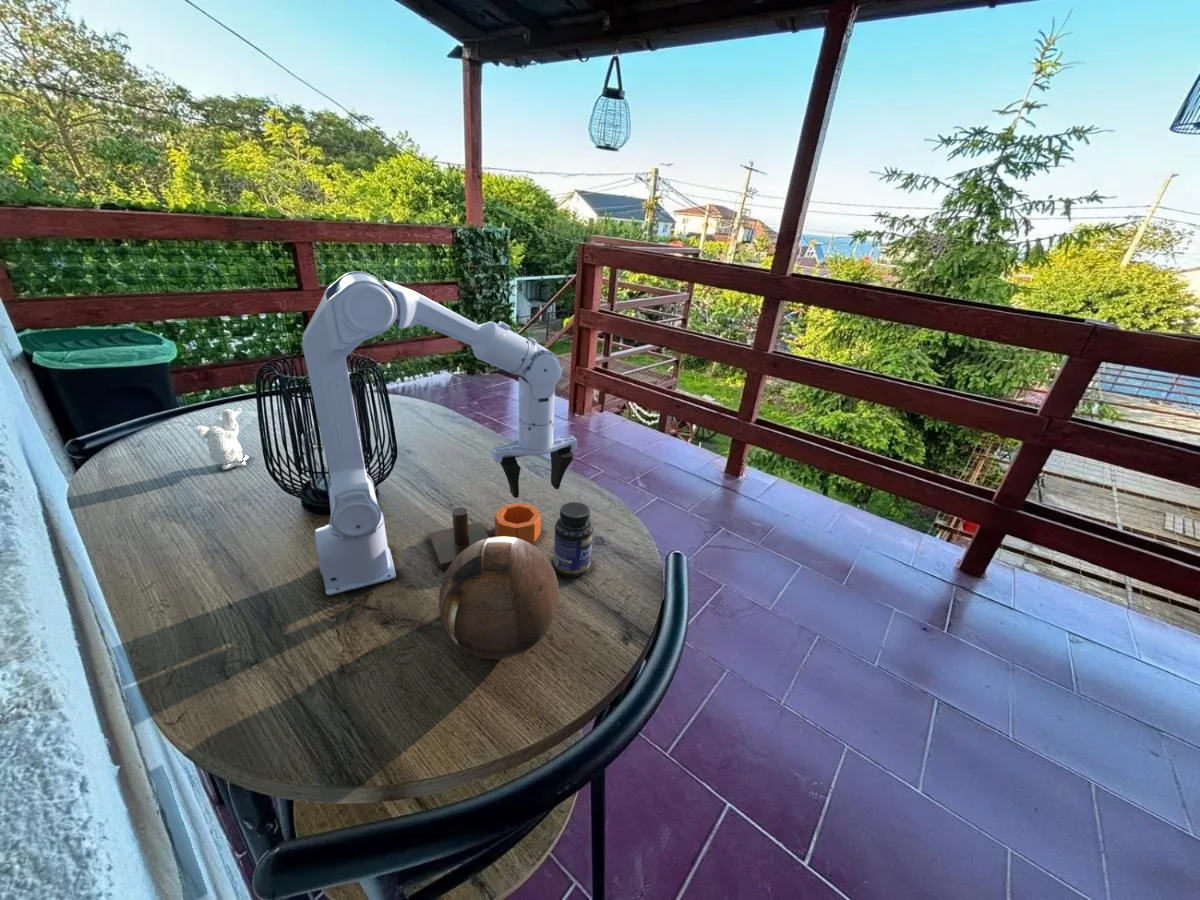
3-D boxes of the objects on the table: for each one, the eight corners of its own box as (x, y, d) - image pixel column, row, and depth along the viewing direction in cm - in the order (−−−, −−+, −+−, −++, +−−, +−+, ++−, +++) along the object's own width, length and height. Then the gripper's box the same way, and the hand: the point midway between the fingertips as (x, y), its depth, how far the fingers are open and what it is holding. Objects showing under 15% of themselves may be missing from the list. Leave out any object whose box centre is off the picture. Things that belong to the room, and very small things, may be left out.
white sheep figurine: (248, 453, 105) (234, 402, 100) (263, 463, 102) (249, 410, 97) (202, 466, 99) (185, 412, 94) (216, 477, 96) (199, 422, 91)
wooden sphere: (540, 589, 74) (542, 507, 67) (571, 667, 61) (578, 575, 55) (438, 611, 68) (429, 524, 62) (450, 702, 56) (441, 604, 49)
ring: (504, 550, 82) (504, 531, 80) (490, 526, 87) (490, 508, 86) (545, 540, 85) (546, 521, 83) (530, 517, 91) (530, 499, 89)
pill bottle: (585, 581, 76) (589, 523, 71) (548, 574, 77) (550, 516, 72) (593, 557, 82) (598, 502, 77) (559, 551, 83) (561, 496, 78)
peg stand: (441, 569, 76) (437, 532, 73) (429, 538, 83) (425, 503, 80) (496, 555, 80) (495, 519, 77) (480, 526, 87) (479, 492, 84)
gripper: (566, 405, 85) (563, 473, 91) (485, 415, 78) (488, 487, 84) (584, 420, 79) (579, 490, 85) (499, 432, 73) (500, 507, 78)
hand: (535, 490), depth 84 cm, fingers open, 7 cm apart
